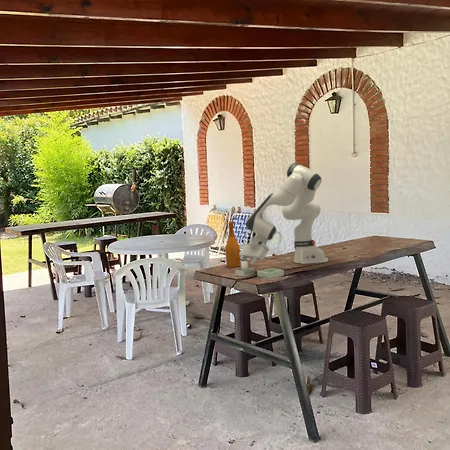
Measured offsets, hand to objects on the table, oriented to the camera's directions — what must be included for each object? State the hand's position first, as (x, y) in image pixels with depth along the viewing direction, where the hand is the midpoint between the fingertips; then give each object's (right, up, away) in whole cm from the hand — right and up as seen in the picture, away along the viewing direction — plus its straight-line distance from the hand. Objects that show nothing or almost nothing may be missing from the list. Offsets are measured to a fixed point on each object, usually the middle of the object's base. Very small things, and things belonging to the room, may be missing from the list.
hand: (246, 263), depth 307 cm
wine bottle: (-7, -4, +31) cm, 32 cm away
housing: (-1, -7, +1) cm, 7 cm away
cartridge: (-1, -7, +1) cm, 7 cm away
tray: (+14, -7, -7) cm, 17 cm away
